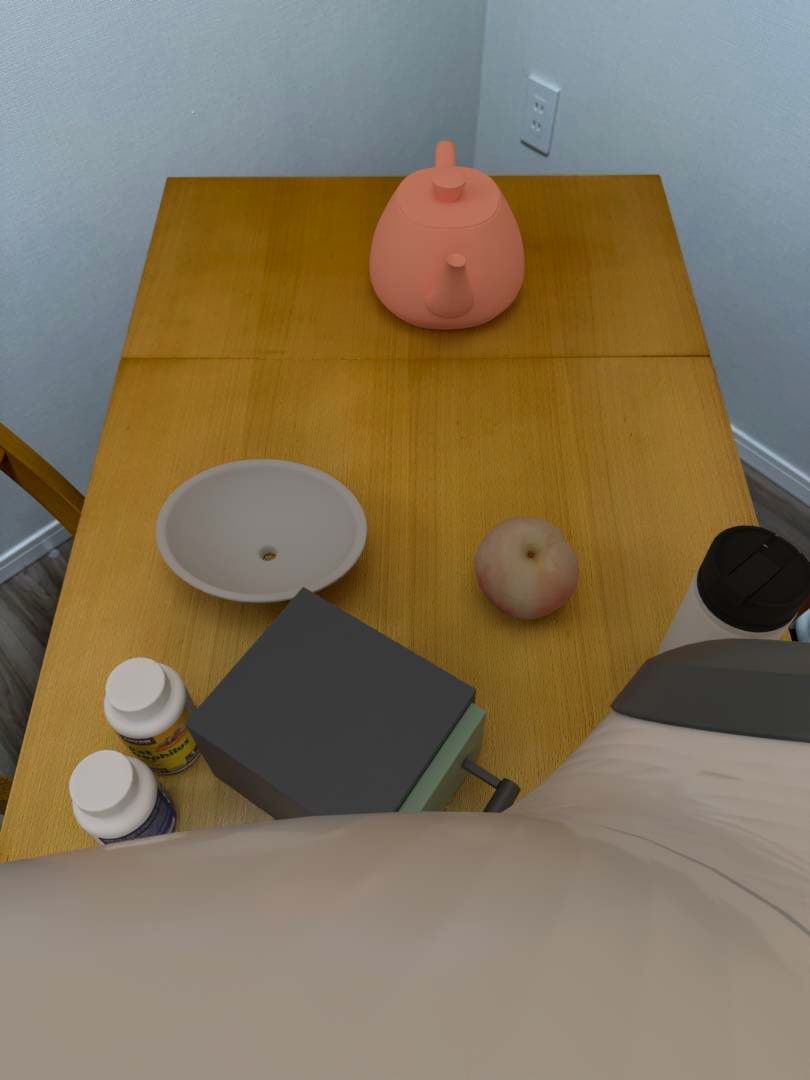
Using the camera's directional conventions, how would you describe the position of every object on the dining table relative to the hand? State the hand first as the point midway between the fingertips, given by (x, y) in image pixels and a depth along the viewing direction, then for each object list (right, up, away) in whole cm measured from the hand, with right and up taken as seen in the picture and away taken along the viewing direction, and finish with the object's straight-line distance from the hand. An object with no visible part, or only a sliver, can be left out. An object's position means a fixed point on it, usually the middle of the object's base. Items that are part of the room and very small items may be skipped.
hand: (588, 878), depth 51 cm
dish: (-23, +18, +23) cm, 37 cm away
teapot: (-6, +47, +44) cm, 65 cm away
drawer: (-12, +3, +11) cm, 17 cm away
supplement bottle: (-29, +5, +14) cm, 32 cm away
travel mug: (+10, +7, +15) cm, 20 cm away
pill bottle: (-30, 0, +10) cm, 32 cm away
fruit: (-1, +16, +21) cm, 26 cm away
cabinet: (-16, +4, +13) cm, 21 cm away
